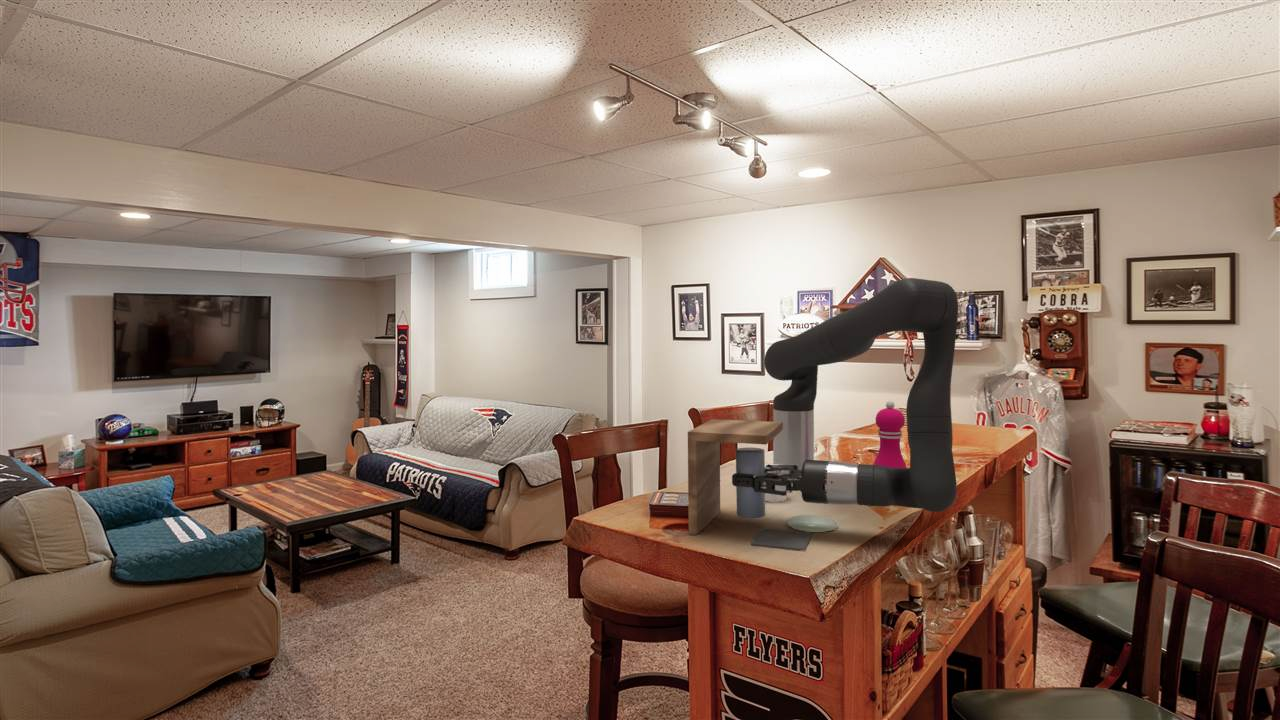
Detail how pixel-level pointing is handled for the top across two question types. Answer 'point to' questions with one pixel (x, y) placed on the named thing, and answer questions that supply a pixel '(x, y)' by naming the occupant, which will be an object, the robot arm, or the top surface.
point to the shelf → (716, 462)
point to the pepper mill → (890, 437)
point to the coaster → (812, 523)
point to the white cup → (772, 496)
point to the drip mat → (782, 539)
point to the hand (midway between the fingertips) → (736, 476)
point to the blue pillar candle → (746, 497)
